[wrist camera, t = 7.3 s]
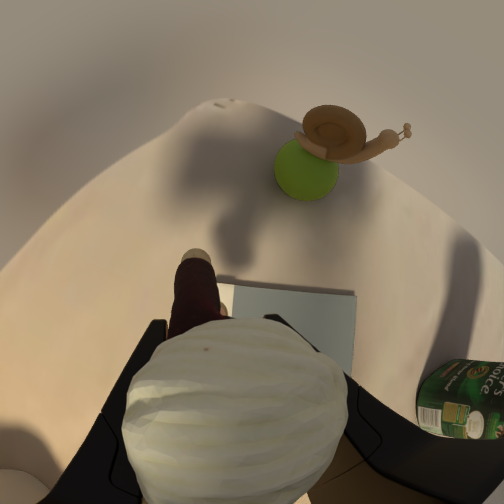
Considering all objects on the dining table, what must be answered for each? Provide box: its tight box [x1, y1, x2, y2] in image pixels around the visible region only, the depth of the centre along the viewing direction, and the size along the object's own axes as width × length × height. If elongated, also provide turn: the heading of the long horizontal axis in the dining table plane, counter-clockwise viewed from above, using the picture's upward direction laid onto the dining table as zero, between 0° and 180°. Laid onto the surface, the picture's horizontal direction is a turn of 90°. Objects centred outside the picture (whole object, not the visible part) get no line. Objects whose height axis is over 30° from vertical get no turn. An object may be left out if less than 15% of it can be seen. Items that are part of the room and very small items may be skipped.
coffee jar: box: [416, 359, 504, 439], centre depth 15 cm, size 10×8×19 cm
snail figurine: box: [274, 105, 412, 201], centre depth 19 cm, size 5×6×12 cm
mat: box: [217, 283, 357, 377], centre depth 21 cm, size 13×14×1 cm
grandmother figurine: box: [122, 248, 348, 504], centre depth 8 cm, size 8×4×13 cm, turn 28°
